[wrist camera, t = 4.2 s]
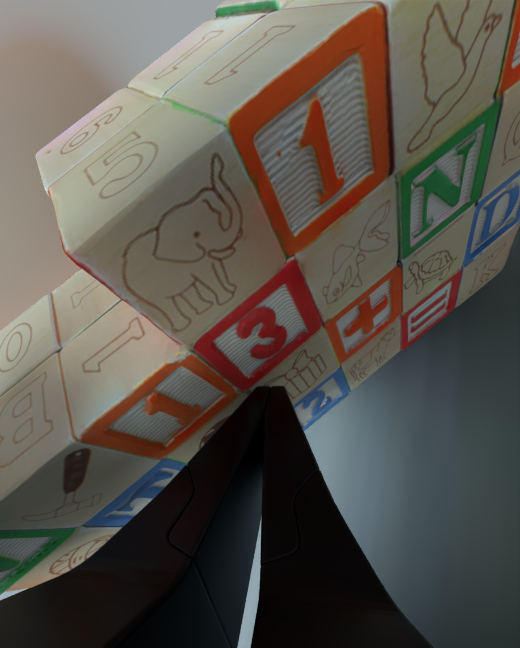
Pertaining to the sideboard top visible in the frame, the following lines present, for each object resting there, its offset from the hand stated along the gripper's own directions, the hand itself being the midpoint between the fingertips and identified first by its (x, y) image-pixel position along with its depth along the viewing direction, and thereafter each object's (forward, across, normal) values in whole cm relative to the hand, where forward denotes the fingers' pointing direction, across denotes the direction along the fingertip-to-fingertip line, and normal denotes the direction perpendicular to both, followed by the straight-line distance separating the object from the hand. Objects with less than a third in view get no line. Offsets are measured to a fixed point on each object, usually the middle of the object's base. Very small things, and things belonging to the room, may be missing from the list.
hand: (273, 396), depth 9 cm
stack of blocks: (+6, 0, +3) cm, 7 cm away
